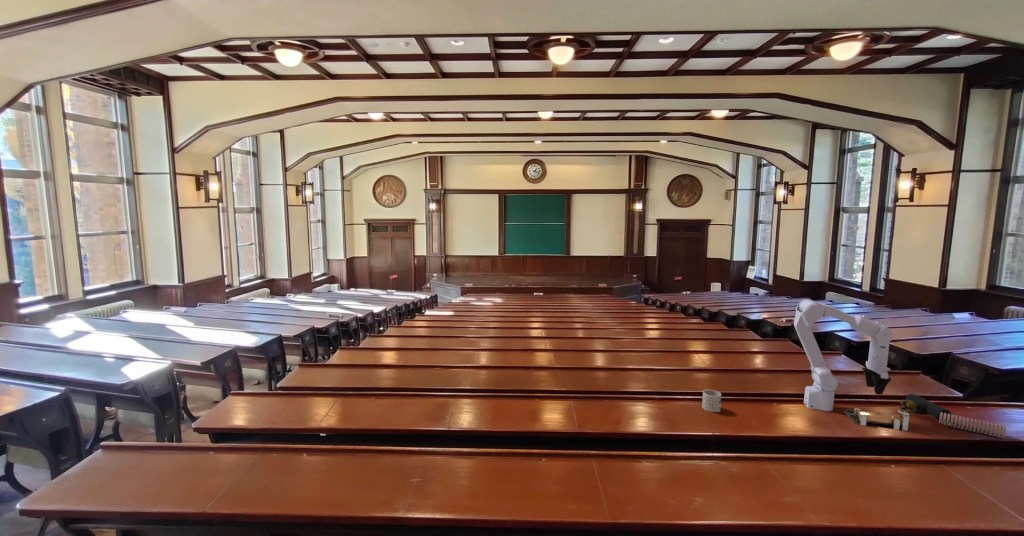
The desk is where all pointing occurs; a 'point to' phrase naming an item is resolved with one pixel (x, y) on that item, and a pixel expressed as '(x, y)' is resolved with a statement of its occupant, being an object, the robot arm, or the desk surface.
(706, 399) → the mug
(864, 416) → the small blocks
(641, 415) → the desk surface
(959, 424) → the coil
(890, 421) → the tube
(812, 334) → the robot arm
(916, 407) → the pipe connector
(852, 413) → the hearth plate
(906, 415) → the aperture bracket
